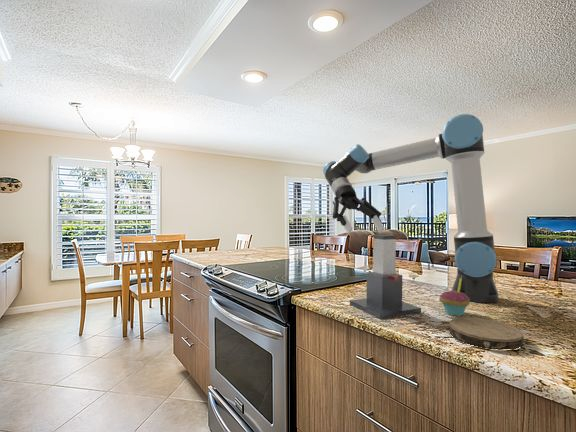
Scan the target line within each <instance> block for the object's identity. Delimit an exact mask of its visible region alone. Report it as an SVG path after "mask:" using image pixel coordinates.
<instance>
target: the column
mask: <svg viewBox="0 0 576 432" xmlns="http://www.w3.org/2000/svg"><path fill="white" fill-rule="evenodd" d="M372 237H373V241H372V243H373V245H372V247H373V250H372V251H373V252H372V253H373V254H372V257H373V259H372V264H373V265H372V272H373V273H374V274H378V275H381V276H388V275H395V273H396V274H397V272H396V269H397V268H396V266H397V265H396V262H397V260H396V257H397V256H396V255H397V253H396V251H397V249H396V248H397V246H396V245H397V244H396V243H397V239H396V238H397V237H396V234H395V235H394V234H393V235H392V234H373V235H372Z"/></svg>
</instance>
